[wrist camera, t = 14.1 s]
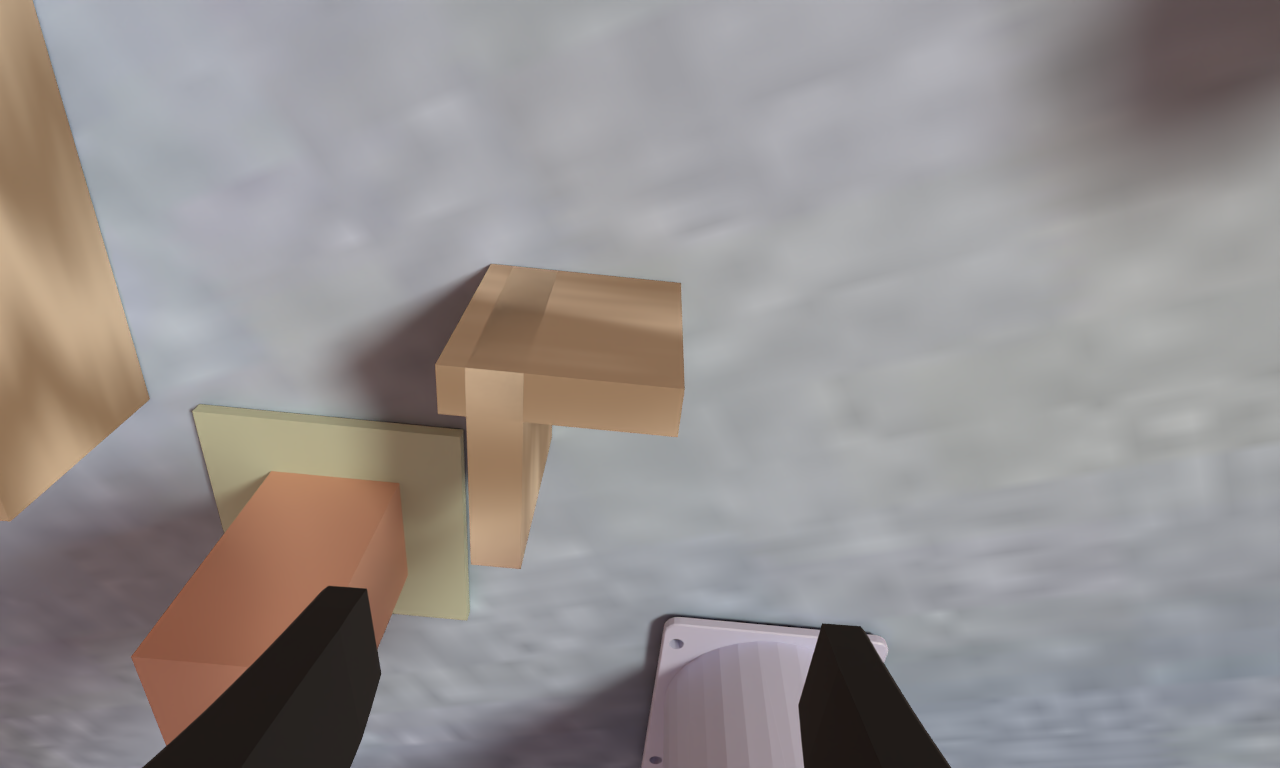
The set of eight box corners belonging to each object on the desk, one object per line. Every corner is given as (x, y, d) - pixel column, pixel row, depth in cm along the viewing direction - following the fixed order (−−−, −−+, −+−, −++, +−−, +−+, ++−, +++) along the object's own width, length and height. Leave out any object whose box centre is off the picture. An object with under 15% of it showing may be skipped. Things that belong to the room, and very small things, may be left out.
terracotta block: (408, 574, 25) (326, 772, 19) (290, 564, 25) (171, 758, 19) (399, 483, 23) (304, 672, 17) (271, 470, 23) (131, 656, 17)
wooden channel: (658, 448, 23) (656, 581, 18) (109, 395, 22) (-41, 516, 18) (762, -331, 14) (812, -479, 9) (-163, -440, 13) (-628, -656, 8)
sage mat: (469, 611, 27) (467, 620, 26) (246, 591, 26) (241, 599, 26) (463, 429, 22) (460, 437, 22) (199, 404, 22) (192, 411, 22)
